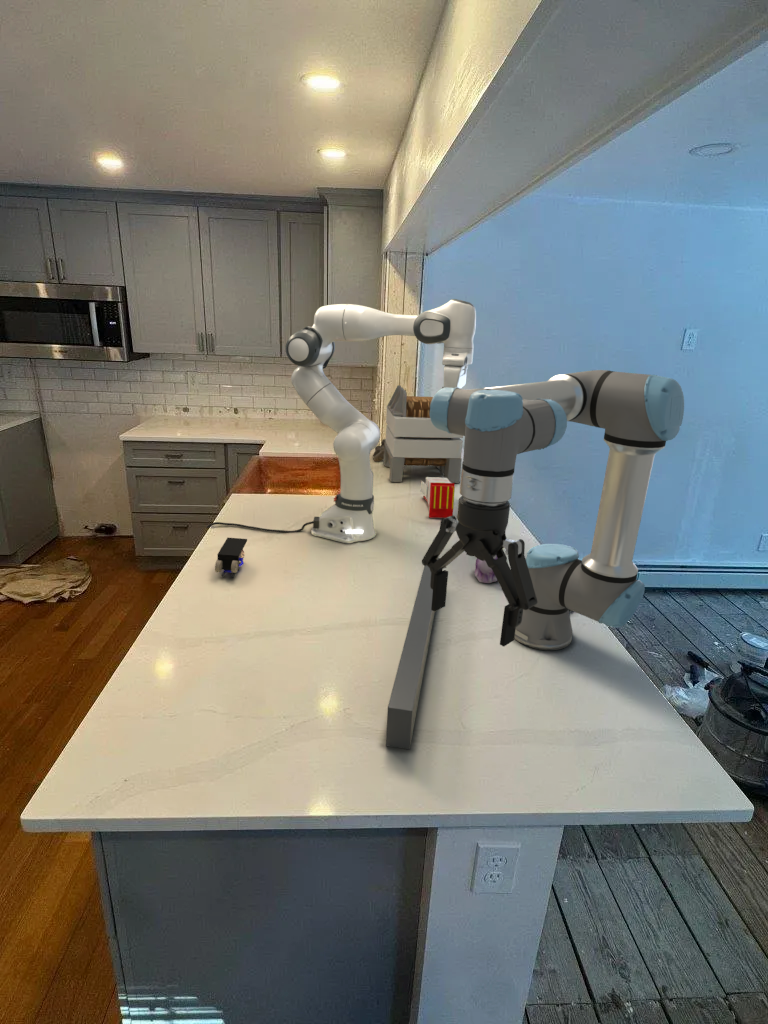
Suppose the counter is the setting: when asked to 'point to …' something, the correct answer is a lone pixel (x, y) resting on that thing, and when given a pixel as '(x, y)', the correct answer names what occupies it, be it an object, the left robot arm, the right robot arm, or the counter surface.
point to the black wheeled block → (230, 556)
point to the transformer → (418, 439)
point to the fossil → (379, 452)
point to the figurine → (484, 572)
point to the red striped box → (439, 496)
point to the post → (411, 668)
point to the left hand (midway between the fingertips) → (453, 403)
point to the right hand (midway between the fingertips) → (470, 624)
